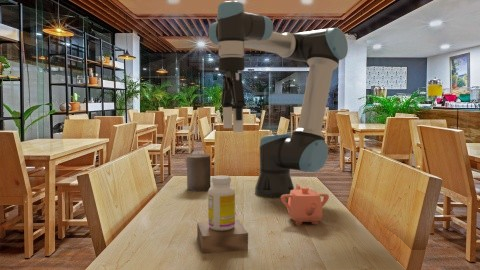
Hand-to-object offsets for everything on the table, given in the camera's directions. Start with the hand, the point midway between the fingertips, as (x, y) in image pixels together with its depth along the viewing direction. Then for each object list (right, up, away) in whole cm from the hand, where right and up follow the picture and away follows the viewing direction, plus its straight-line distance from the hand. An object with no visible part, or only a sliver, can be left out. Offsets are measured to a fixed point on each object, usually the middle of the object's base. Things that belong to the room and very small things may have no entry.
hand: (232, 130), depth 117 cm
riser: (-2, -29, -18) cm, 34 cm away
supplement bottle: (-2, -25, -18) cm, 31 cm away
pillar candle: (-15, -24, +44) cm, 52 cm away
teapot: (+21, -27, +1) cm, 35 cm away
